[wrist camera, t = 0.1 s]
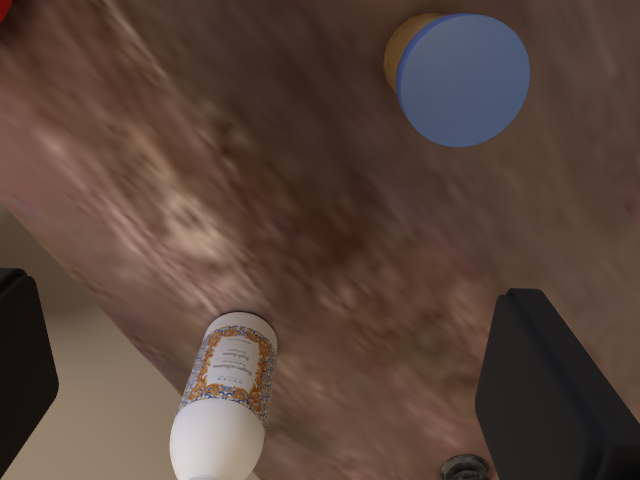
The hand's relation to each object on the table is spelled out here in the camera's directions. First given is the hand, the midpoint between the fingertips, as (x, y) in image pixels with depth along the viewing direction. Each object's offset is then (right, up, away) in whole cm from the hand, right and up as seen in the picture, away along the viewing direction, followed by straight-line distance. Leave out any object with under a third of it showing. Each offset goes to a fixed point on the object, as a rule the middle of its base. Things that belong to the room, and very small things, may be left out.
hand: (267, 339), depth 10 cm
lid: (+9, +10, +17) cm, 22 cm away
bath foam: (-6, -7, +38) cm, 40 cm away
